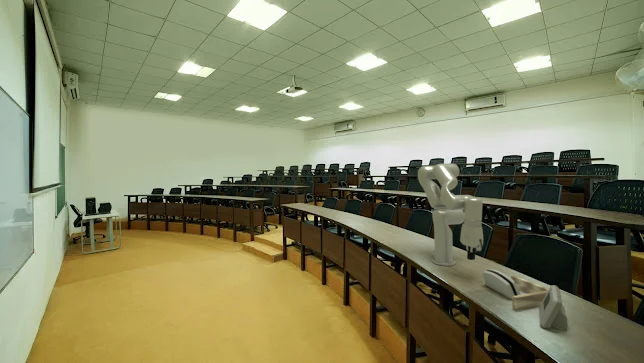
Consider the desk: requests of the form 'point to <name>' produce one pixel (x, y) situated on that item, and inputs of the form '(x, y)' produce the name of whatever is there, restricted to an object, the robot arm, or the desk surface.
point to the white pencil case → (500, 283)
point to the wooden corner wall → (531, 298)
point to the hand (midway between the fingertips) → (471, 259)
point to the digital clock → (553, 310)
